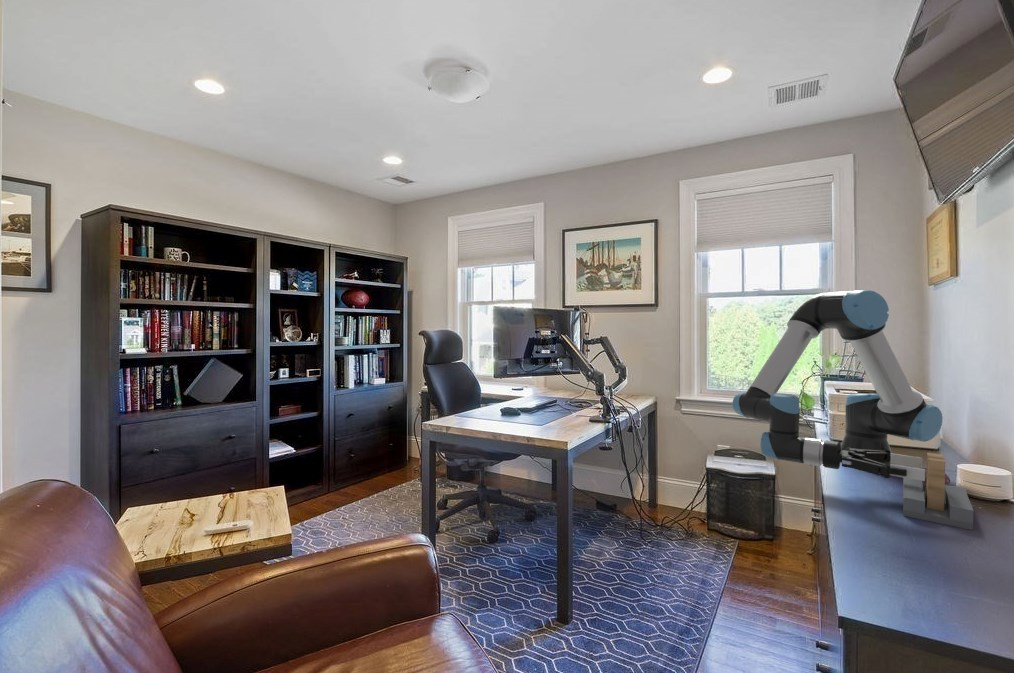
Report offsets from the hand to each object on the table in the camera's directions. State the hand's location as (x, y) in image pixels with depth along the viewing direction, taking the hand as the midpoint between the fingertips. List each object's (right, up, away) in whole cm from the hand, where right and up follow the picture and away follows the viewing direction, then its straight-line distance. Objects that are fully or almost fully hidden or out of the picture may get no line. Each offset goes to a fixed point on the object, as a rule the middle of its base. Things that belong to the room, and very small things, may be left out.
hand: (923, 468), depth 118 cm
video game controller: (+15, -10, +16) cm, 25 cm away
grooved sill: (+2, -10, -1) cm, 10 cm away
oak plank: (+2, -9, -1) cm, 9 cm away
